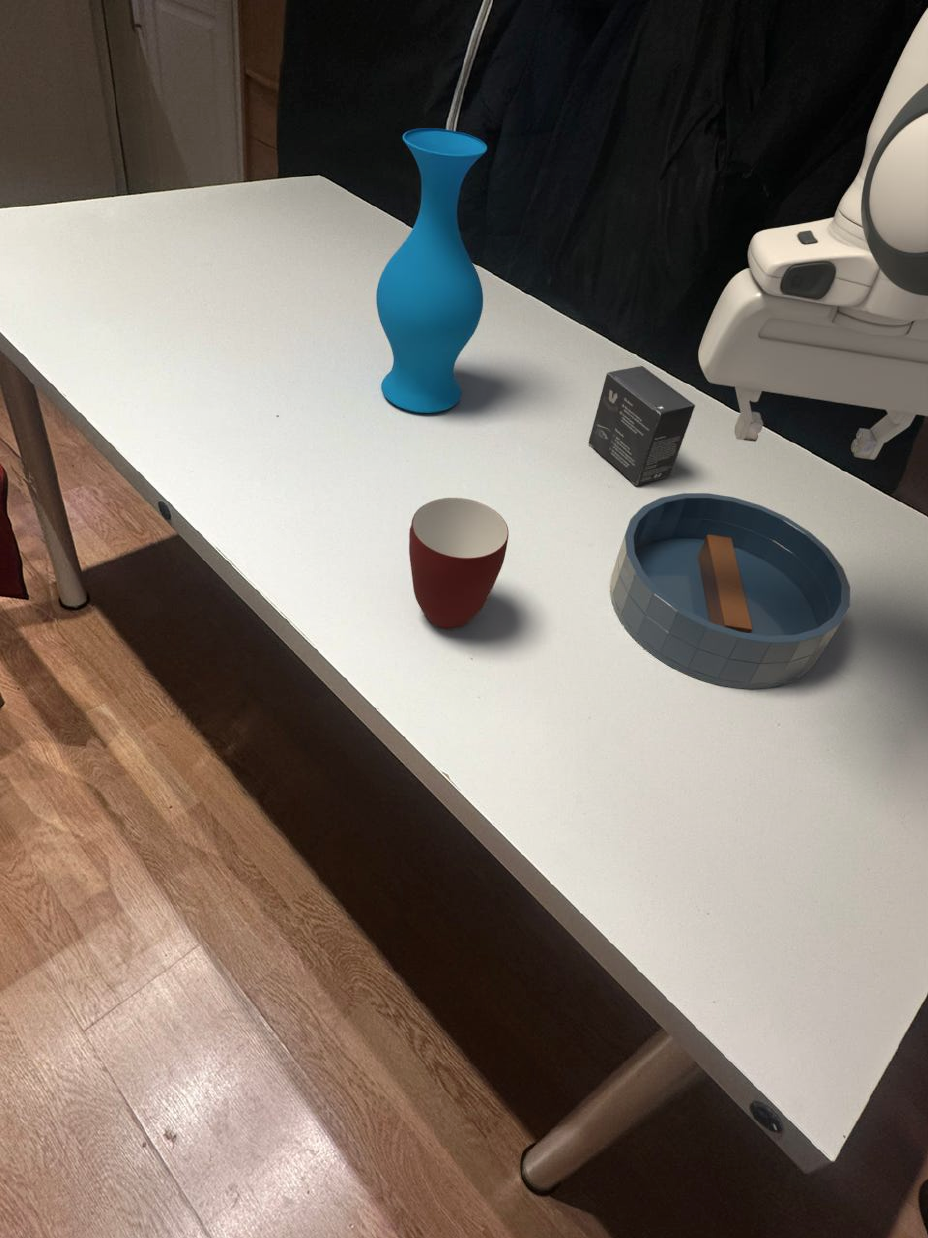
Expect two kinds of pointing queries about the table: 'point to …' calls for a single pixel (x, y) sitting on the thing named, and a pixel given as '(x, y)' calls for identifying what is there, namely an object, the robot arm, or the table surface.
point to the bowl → (772, 582)
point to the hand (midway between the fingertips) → (803, 445)
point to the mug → (455, 558)
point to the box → (640, 424)
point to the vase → (431, 280)
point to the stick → (723, 584)
